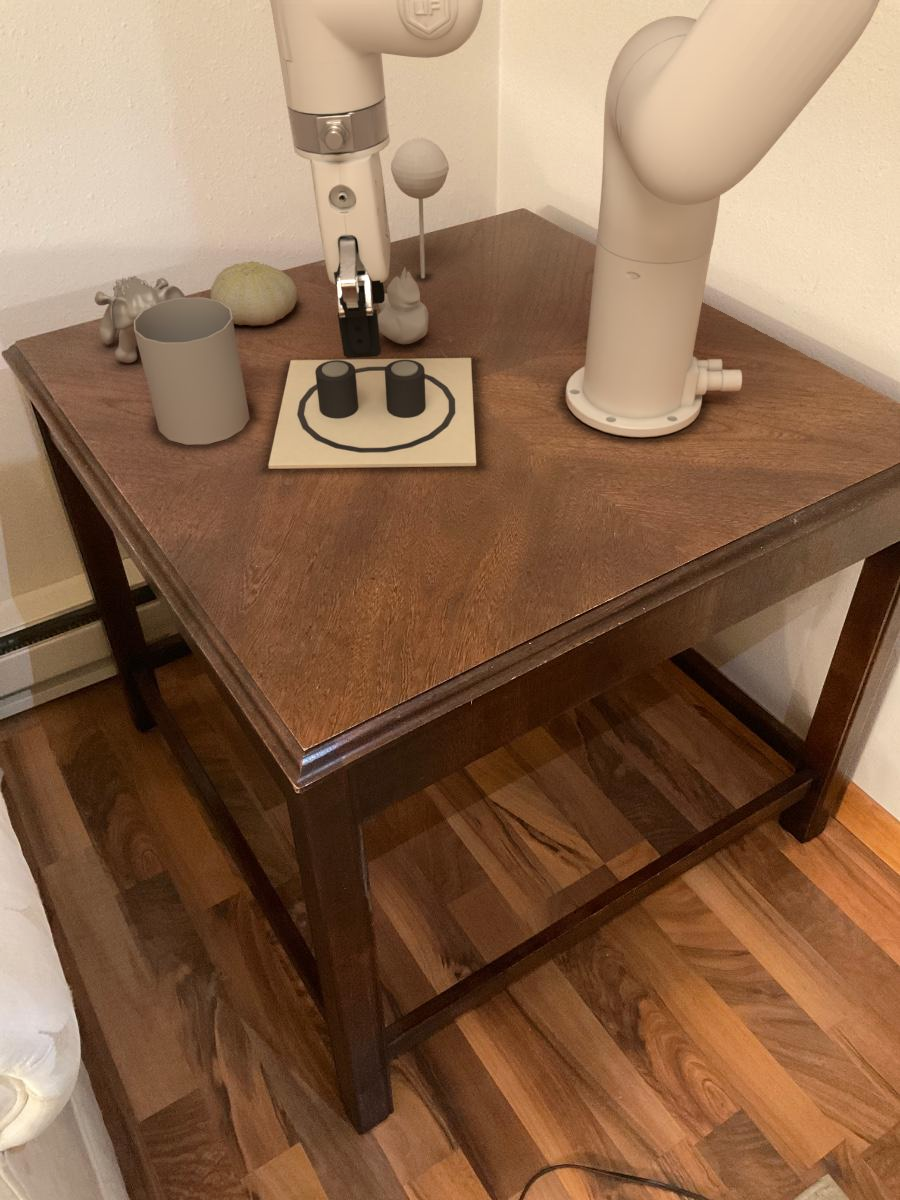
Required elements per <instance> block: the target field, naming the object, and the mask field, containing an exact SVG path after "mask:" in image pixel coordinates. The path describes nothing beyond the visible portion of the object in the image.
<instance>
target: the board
mask: <svg viewBox="0 0 900 1200" xmlns="http://www.w3.org/2000/svg"><path fill="white" fill-rule="evenodd" d="M334 360H335V359H292V360H291V359H290V363H289V366H288V367H289V368H288V372H287V377H286V380H285V381H286V382H285V386H284V389H283V390H284V391H283V395H282V399H281V404H280V409H279V413H278V419H277V422H276V423H277V424H276V428H275V433H274V438H273V442H272V446H271V451H270V455H269V461H268V469H269V470H276V469H277V470H279V469H289V470H291V469H348V468H349V469H351V468H352V469H353V468H354V469H357V468H360V469H361V468H424V467H425V468H429V467H432V468H433V467H434V468H435V467H476V466H477V449H476V433H475V432H476V430H475V429H476V428H475V412H474V410H475V409H474V391H473V390H474V389H473V371H472V369H473V368H472V358H471V357H438V358H437V357H435V358H434V357H432V358H431V357H430V358H429V357H428V358H427V357H425V358H424V357H423V358H422V357H421V358H361V359H359V358H356V359H355V358H346V359H340V360H341V361H346V362H349V363H351V364H352V365H353V366H354V367H355V372H356V384H357V396H358V410H357V412H356V413H354V414H353V415H351V416H349V417H346V418H339V419H335V418H329V417H326V416H324V415H323V414H322V413H321V412H320V408H319V399H318V391H317V382H316V373H315V371H316V368H317V367H318V366H319V365H321V364H322V363H325V362H328V361H334ZM398 360H413V361H417V362H419V363H421V364H422V365H423V367H424V370H425V402H426V408H425V410H424V412H423V413H421V414H420V415H418V416H415V417H411V418H400V417H396V416H393V415H392V414H390V413H389V412H388V410H387V400H386V384H385V368H386V366H387V365H388V364H390V363H392V362H394V361H398Z"/></svg>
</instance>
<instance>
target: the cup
mask: <svg viewBox="0 0 900 1200" xmlns="http://www.w3.org/2000/svg"><path fill="white" fill-rule="evenodd" d="M134 332H135V336H136V340H137V349H138V352H139V356H140V359H141V363H142V368H143V372H144V375H145V380H146V384H147V388H148V392H149V396H150V401H151V404H152V408H153V409H152V410H153V413H154V417H155V420H156V424H157V429H158V432H159V433H161V434H162V435H163V436H164V437H165V439H167V440H168V441H171V442H175V443H179V444H182V445H186V446H187V445H188V446H189V445H194V446H195V445H210V444H213V443H217V442H221V441H224V440H227V439H228V440H229V438H231V437H233V436H234V435H236V434H238V433H239V432H241V431H243V430H244V428H245V426H246V425H247V423H248V422H249V420H250V419H251V418H250V412H249V407H248V400H247V395H246V389H245V383H244V376H243V371H242V366H241V365H242V364H241V361H240V353H239V348H238V342H237V337H236V331H235V324H233V319H232V313H231V309H230V308H229V307H227V306H226V305H224V304H223V303H221V302H220V301H216V300H212V299H211V298H207V297H201V296H199V297H197V296H196V297H195V296H194V297H186V298H177V299H173V300H168V301H164V302H160V303H157V304H155V305H153V306H151V307H149V308H147V309H145V310H143V311H142V312H141V313H140V314H139V315H138V316H137V318H136V319H135V320H134Z"/></svg>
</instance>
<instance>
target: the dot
mask: <svg viewBox="0 0 900 1200" xmlns="http://www.w3.org/2000/svg"><path fill="white" fill-rule="evenodd" d="M333 360H334V361H328V362H325V363H322V364H321V365H319V366H318V367H317V368H316V371H315V373H316V382H317V391H318V399H319V408H320V412H321V413H322V414H323V415H324V416H326V417H329V418H335V419H339V418H346V417H349V416H351V415H353V414H354V413H356V412H357V410H358V396H357V384H356V372H355V367H354V366H353V365H352V364H351V363H349V362H346V361H341V360H342V359H333Z"/></svg>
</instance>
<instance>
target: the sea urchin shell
mask: <svg viewBox="0 0 900 1200" xmlns="http://www.w3.org/2000/svg"><path fill="white" fill-rule="evenodd" d="M296 285H297V284H295V282H294V281H293V279H292V278H291V277H290V276H289V275H288V274H286V273H285V272H284V271H282V270H281V269H278V268H276V267H274V266H271V265H268V264H267V263H266V264H265V263H261V262H259V261H252V260H251V261H243V262H241V263H236V264H235V263H234V264H233V265H230V266H229V267H226V268H223V270H221V271H220V272H219V273H218V274H217V275H216V277H215V280H214V282H213V284H212V285H211V287H210V290H209V291H210V299H212V300H216V301H220V302H221V303H223V304H224V305H226V306H227V307H229V308H230V309H231V313H232V319H233V324H234V325H238V326H245V325H246V326H251V327H254V326H267V325H271V324H275V323H276V322H278V321H279V320H281V319H283V318H285V316H286V315H288V314H289V313H291V312H292V310H294V308H295V305H296V304H297V301H298V290H297V286H296Z"/></svg>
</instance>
